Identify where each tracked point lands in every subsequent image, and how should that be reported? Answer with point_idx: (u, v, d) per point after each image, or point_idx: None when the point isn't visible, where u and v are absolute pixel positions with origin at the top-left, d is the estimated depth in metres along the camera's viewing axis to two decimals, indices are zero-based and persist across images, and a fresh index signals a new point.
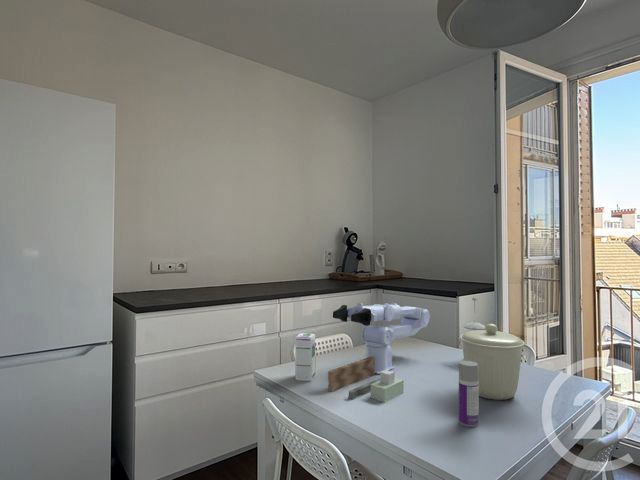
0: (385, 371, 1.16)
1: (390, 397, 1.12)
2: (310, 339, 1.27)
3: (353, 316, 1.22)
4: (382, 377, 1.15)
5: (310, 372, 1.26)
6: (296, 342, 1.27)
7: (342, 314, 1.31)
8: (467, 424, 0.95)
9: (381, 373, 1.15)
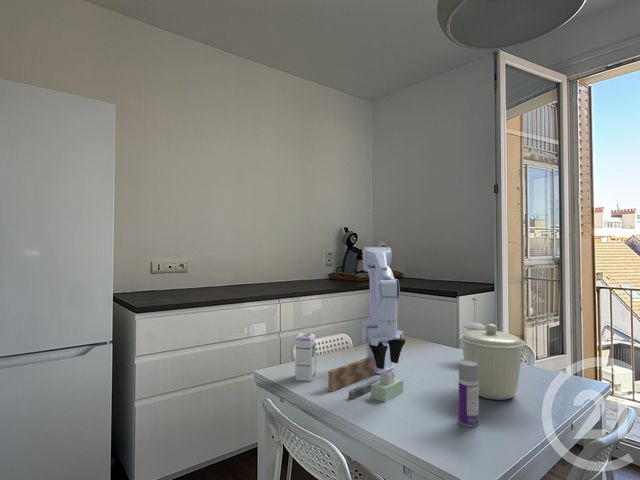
0: (385, 371, 1.16)
1: (390, 397, 1.12)
2: (310, 339, 1.27)
3: None
4: (382, 377, 1.15)
5: (310, 372, 1.26)
6: (296, 342, 1.27)
7: None
8: (467, 424, 0.95)
9: (381, 373, 1.15)
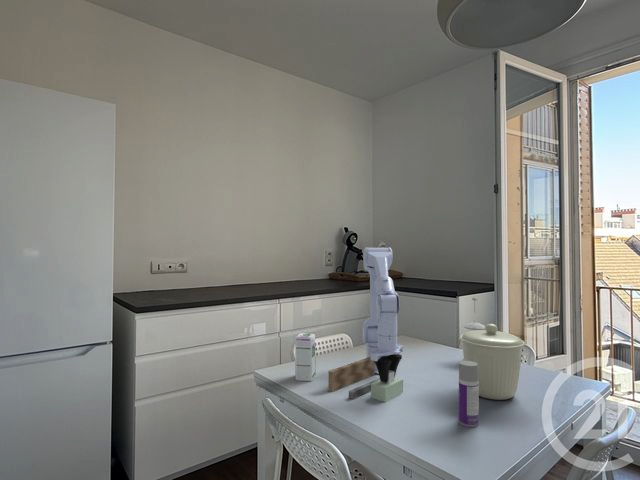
0: None
1: (390, 396, 1.12)
2: (310, 339, 1.27)
3: None
4: None
5: (310, 372, 1.26)
6: (296, 342, 1.27)
7: None
8: (467, 424, 0.95)
9: None
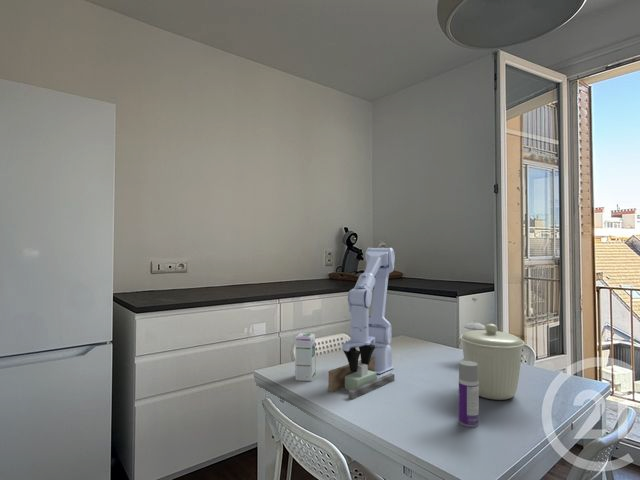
0: (359, 364, 1.23)
1: None
2: (310, 339, 1.27)
3: None
4: None
5: (310, 372, 1.26)
6: (296, 342, 1.27)
7: None
8: (467, 424, 0.95)
9: None
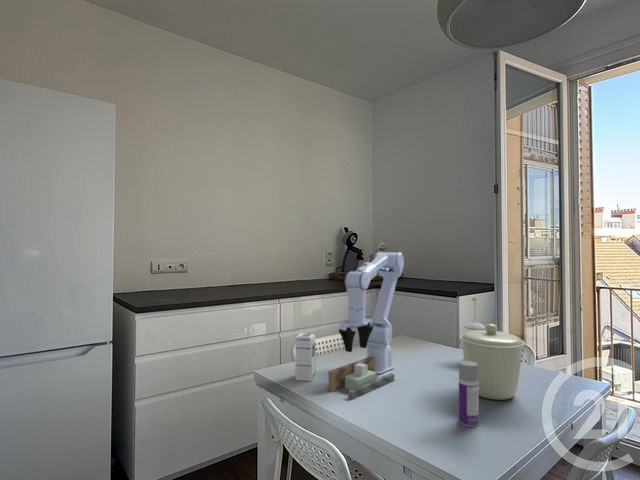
0: (359, 364, 1.23)
1: None
2: (310, 339, 1.27)
3: None
4: (356, 369, 1.22)
5: (310, 372, 1.26)
6: (296, 342, 1.27)
7: None
8: (467, 424, 0.95)
9: (355, 366, 1.22)
